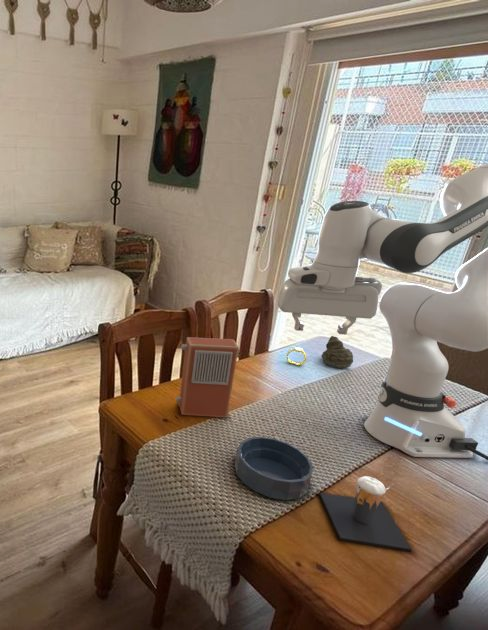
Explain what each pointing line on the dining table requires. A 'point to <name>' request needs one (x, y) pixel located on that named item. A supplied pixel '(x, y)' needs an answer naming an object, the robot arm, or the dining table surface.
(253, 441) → the dish
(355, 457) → the dining table surface
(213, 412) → the pink box with grille
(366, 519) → the milkshake
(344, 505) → the mat
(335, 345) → the brown poop pile
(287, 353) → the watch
